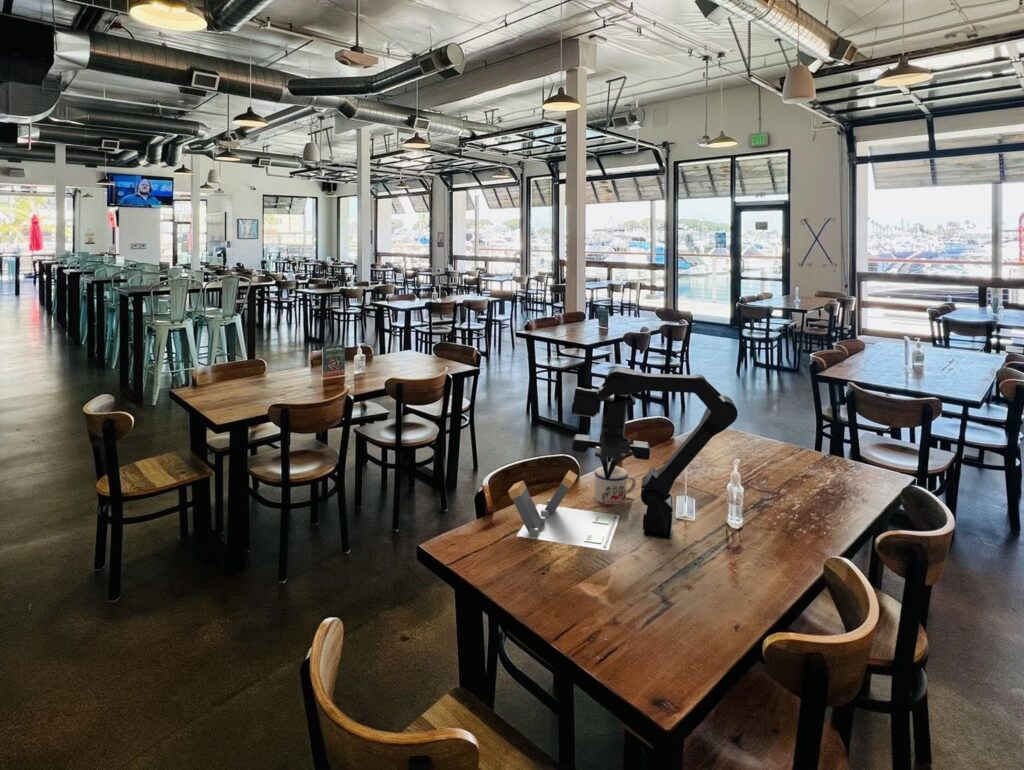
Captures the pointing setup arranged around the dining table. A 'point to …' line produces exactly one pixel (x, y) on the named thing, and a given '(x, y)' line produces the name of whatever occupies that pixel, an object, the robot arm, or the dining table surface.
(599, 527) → the switch unit
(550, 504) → the rocker
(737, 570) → the dining table surface
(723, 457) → the dining table surface
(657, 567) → the dining table surface
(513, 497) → the block
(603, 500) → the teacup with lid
